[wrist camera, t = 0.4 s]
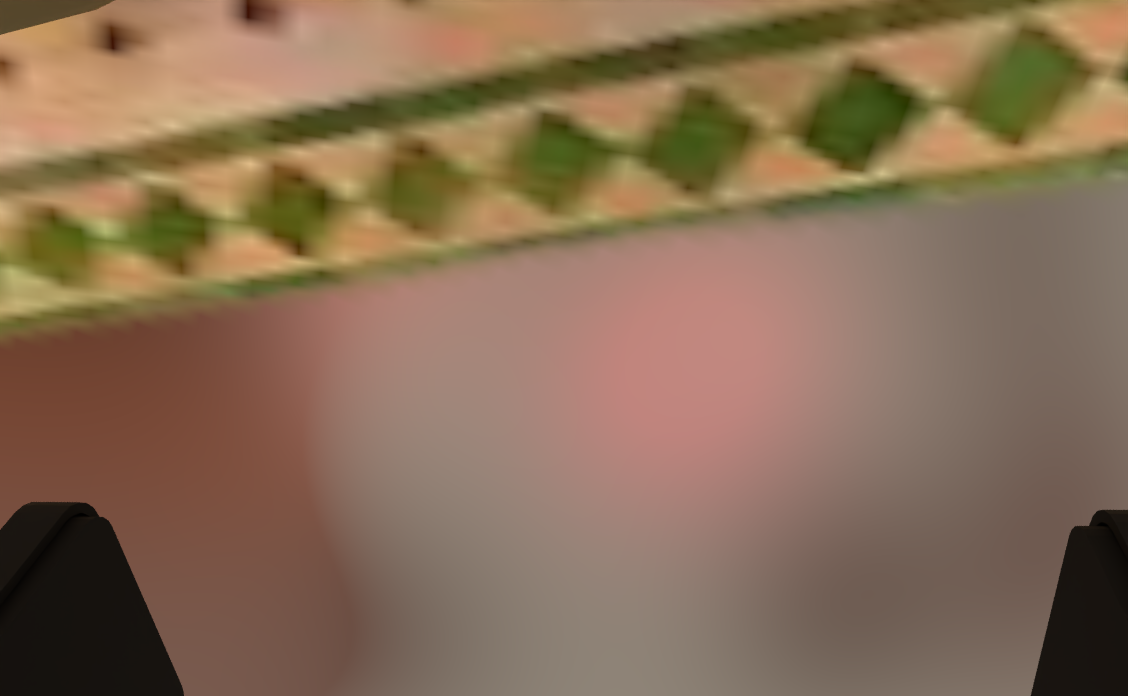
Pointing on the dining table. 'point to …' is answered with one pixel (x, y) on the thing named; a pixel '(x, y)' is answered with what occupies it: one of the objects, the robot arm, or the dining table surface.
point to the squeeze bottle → (41, 11)
